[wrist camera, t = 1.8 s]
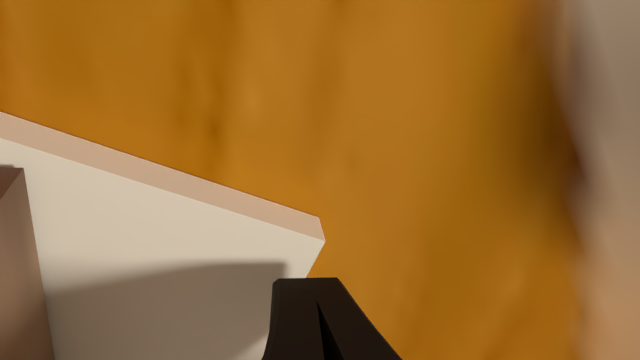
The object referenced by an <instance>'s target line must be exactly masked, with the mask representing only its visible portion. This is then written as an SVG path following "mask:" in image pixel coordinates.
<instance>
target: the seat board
mask: <svg viewBox="0 0 640 360" xmlns="http://www.w3.org/2000/svg"><path fill="white" fill-rule="evenodd" d="M0 167H14V168H24V173H25V179H26V186H27V192H28V198H29V204H30V210H31V216H32V223H33V229H34V235H35V241H36V247H37V253H38V259H39V266H40V272H41V278H42V284H43V290H44V296H45V303H46V309H47V315H48V321H49V327H50V333H51V339H52V346H53V352H54V358H55V360H261V358H262V356H263V355H264V351H265V347H266V343H267V339H268V335H269V327H270V313H271V299H272V285H273V282H275V281H276V280H277V279H278V278H306V276H307V274H308V272H309V271H310V269H311V267H312V265H313V263H314V261H315V260H316V258H317V256H318V254H319V252H320V250H321V249H322V247H323V245H324V243H325V238H324V234H323V231H322V227H321V224H320V220H319V217H316V216H313V215H310V214H307V213H304V212H301V211H298V210H295V209H292V208H289V207H286V206H283V205H280V204H277V203H274V202H271V201H268V200H265V199H262V198H259V197H256V196H253V195H250V194H247V193H244V192H241V191H238V190H235V189H232V188H229V187H226V186H223V185H220V184H217V183H214V182H210V181H207V180H204V179H201V178H198V177H195V176H192V175H189V174H186V173H183V172H180V171H177V170H174V169H171V168H168V167H165V166H162V165H159V164H156V163H153V162H150V161H147V160H144V159H141V158H138V157H135V156H132V155H129V154H126V153H123V152H120V151H117V150H114V149H111V148H108V147H105V146H102V145H99V144H96V143H93V142H90V141H87V140H84V139H81V138H78V137H75V136H72V135H69V134H66V133H63V132H60V131H57V130H54V129H51V128H48V127H45V126H42V125H39V124H36V123H33V122H30V121H27V120H24V119H21V118H18V117H15V116H12V115H9V114H6V113H3V112H0Z"/></svg>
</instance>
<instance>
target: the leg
mask: <svg viewBox="0 0 640 360" xmlns="http://www.w3.org/2000/svg"><path fill="white" fill-rule="evenodd" d="M0 360H55V358H54V352H53V346H52V339H51V333H50V327H49V321H48V315H47V309H46V303H45V296H44V290H43V284H42V278H41V272H40V266H39V259H38V253H37V247H36V241H35V235H34V229H33V223H32V216H31V210H30V204H29V198H28V192H27V186H26V179H25V173H24V168H14V167H0Z"/></svg>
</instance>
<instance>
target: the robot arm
mask: <svg viewBox="0 0 640 360" xmlns="http://www.w3.org/2000/svg"><path fill="white" fill-rule="evenodd" d="M262 360H402V359H401V358H400V356H399V355H398V354H397V353H396V352H395V351H394V350H393V348H392V347H391V346H390V345H389V344H388V342H387V341H386V340H385V339H384V338H383V336H382V335H381V334H380V333H379V332H378V330H377V329H376V328H375V327H374V325H373V324H372V323H371V322H370V320H369V319H368V318H367V316H366V315H365V314H364V313H363V311H362V310H361V309H360V307H359V306H358V305H357V303H356V302H355V301H354V299H353V298H352V296H351V295H350V294H349V292H348V291H347V290H346V288H345V287H344V285H343V284H342V283H341V281H340V280H339V279H338V278H278V279H277V280H276V281H275V282H273V285H272V299H271V313H270V327H269V335H268V339H267V343H266V347H265V351H264V355H263V358H262Z"/></svg>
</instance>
